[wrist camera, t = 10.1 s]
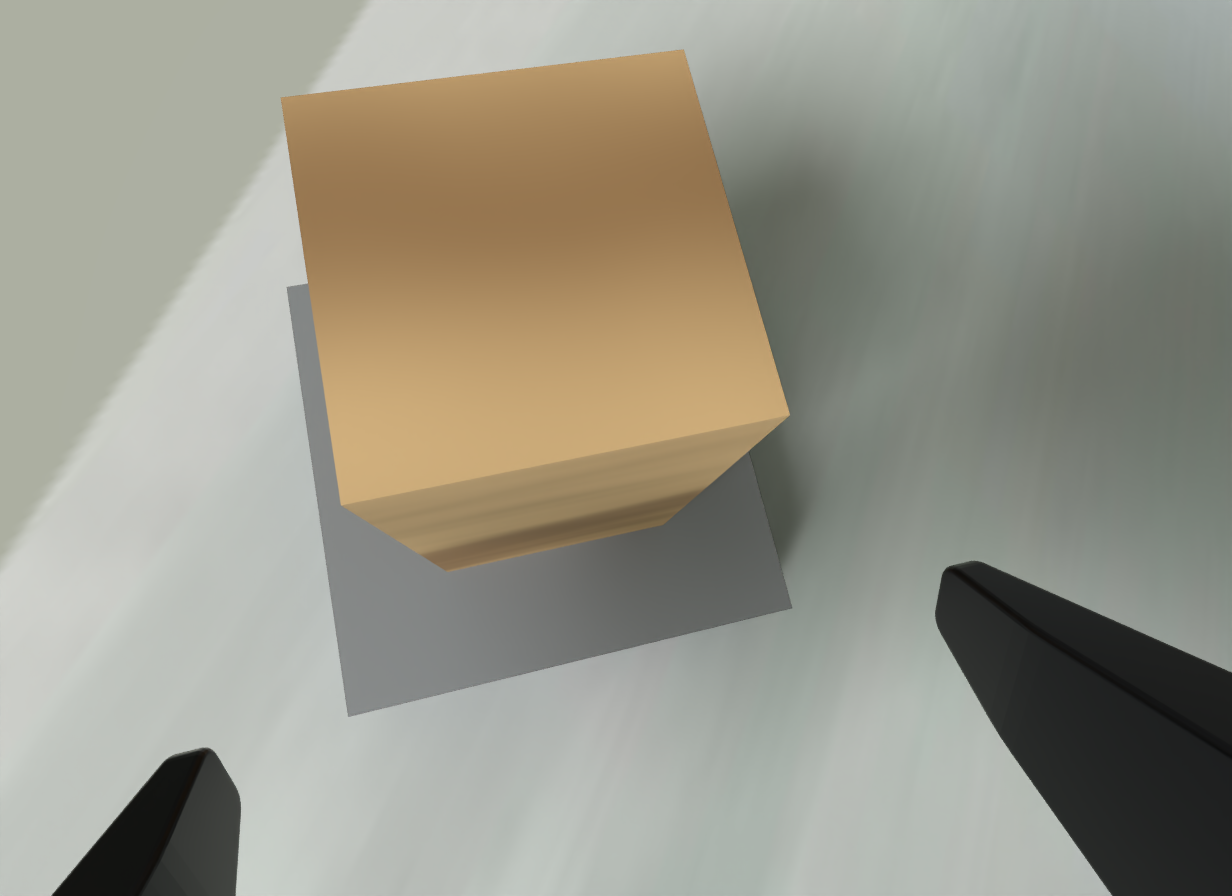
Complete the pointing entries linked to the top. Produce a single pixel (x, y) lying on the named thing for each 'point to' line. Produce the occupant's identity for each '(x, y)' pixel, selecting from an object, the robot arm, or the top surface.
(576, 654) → the gray plinth
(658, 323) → the caramel block
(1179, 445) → the top surface
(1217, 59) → the top surface
